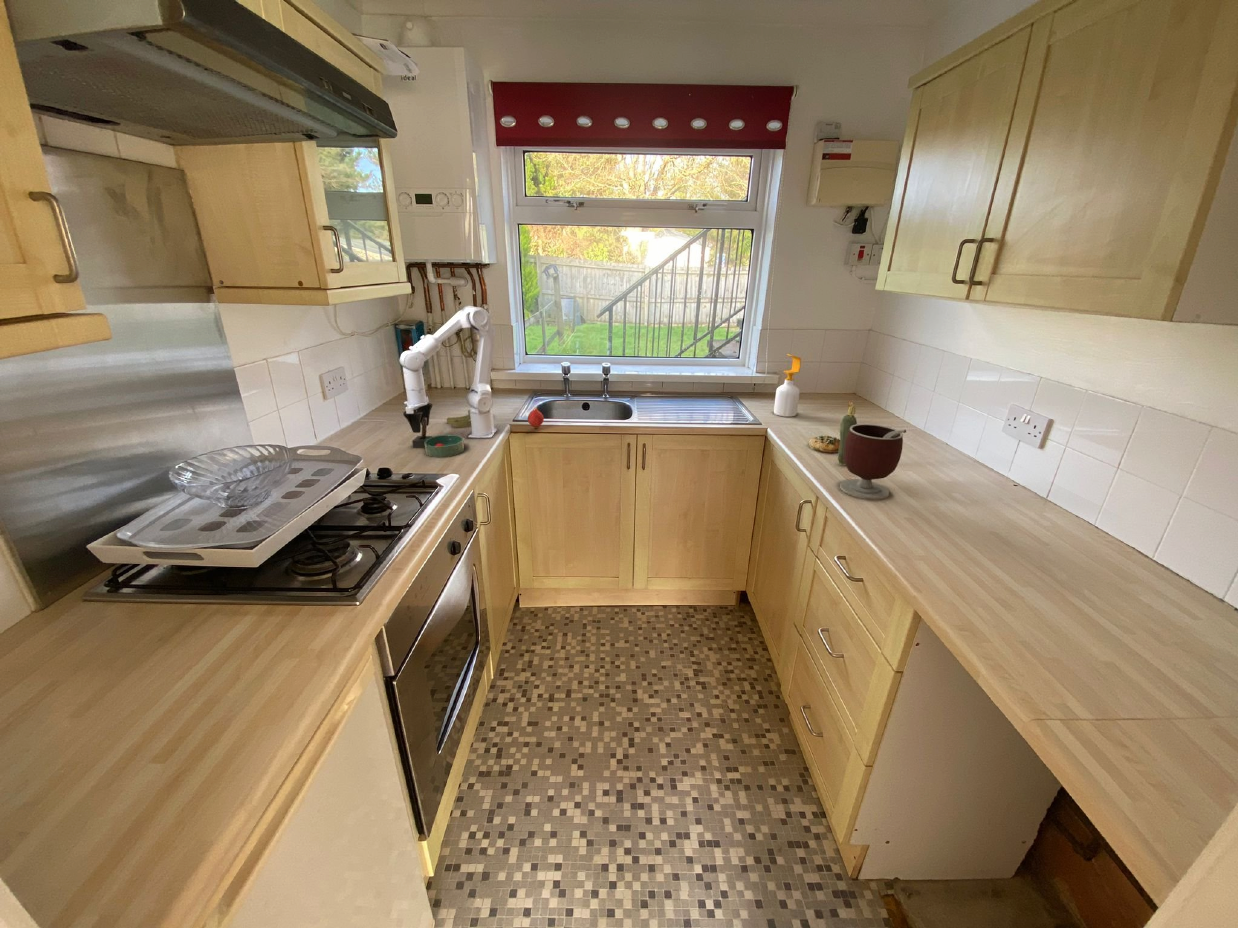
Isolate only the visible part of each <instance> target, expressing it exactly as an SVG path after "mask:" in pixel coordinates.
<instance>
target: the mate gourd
mask: <svg viewBox="0 0 1238 928" xmlns="http://www.w3.org/2000/svg"><path fill="white" fill-rule="evenodd" d="M906 433H907V430H906V429H896V428H892V427H890V426H885V425H882V424H881V425H880V424H874V423H873V424H872V423H857V425H853V426H851V427H850V430H849V432H848V434H847V437H846V440H845V444H844V453H843V457H844V463H845V464H844V465H845V467H846V469H847V471H849V473H850V474H853V475H854V476H857V477H858V478H859V479H858V478H850V479H844V480H842V481H841V482H840V484H839V488H840V490H841V491H842V492H844V493H845V494H847V495H849V496H852V497H855V498H859V499H862V500H863V499H864V500H873V501H874V500H875V501H877V500H878V501H879V500H884V499H886V498H888V497H889V494H890V490H889V489H888V488H887V487H886V486H884V485H882V484H880V483H878V482H874V481H872V480H881V479H885V478H887V477H889V476H890V475H891V474H892V473H894V472H895V470H896V468H897V467H898V465H899V462H900V459H901V457H902V452H903V447H904V446H903V445H904V444H903V443H904V438H903V437H904V434H906Z"/></svg>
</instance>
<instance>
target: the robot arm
mask: <svg viewBox="0 0 1238 928" xmlns="http://www.w3.org/2000/svg"><path fill="white" fill-rule="evenodd" d="M466 328H467V329H468V328H471V329H472V330H473V331H474V332H475V333H476V335H478V343H477V350H476V351H477V352H476V358H475V359H476V360H475V368H474V376H473V382H472V384H471V385H470V388H469V391H468V393H467V394H466V402H467V404H468V405H469V406H470V408H469V410H470V417H471V419H470V420H471V426H470V427H471V433H470V434H469V435H468V438H470V439H471V438H472V439H473V438H477V439H478V438H479V439H481V438H482V439H490V438H492V437H493V436H494V435H495V434H496V432H497V431H498V428H495V421H494V413H493V410H492V408H493V404H494V401H493V398H492V390H491V387H490V381H491V373H492V366H493V359H494V352H495V351H494V350H495V343H496V337H497V335H496V333H497V332H496V330H495V326H494V323H493V322H492V316H491V314H489V312H488V311H487V310H486V309H485V308H483V307H479V306H473V305H466V306H464V307H463V308H462V309H460V310H459V311H457V312H456V313H455V314H454V315H453V316H451V318H450V319H448V321H446V322H445V323H444V324H443V325H442V326H441V327H440V328H439V329H438V330H436V331H435V332H434V333H433V334H426V335H424V334H423V335H422V336H420V340H419V341H417V343H415V344H414V345H413V346H412V345H410V346H409V347H408V349H409V350H405V351H403V352H402V353H401V354H400V357H399V359H398V360H399V364H400V365H401V367H402V369H403V379H404V387H405V392H406V399H407V400H406V401H404V405H406V407H405V411H403V412H402V415H403V417H404V418H405V420H407V422H408V424H409V426H410V429H411V431H412V433H414V434H420V433H421V432H422V420H423V418H424V417H426V418H427V427H428V426H429V425H430V416H431V410H432V408H433V403H432V402H431V403H430V401H429V396H427V395H426V387H425V380H424V374H423V367H424V365H425V362H426V361H427V360H429V359H430V358H431V357H432V356H434V355H435V353H437V352H438V351H439V350H440V349H441V347H442V346H441V345H442V343H443V342H444V341H445V340H447V339H448V338H450V336H452V335H454V334H455V333H456V332H457V331H458V330H460V329H466Z"/></svg>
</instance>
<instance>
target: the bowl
mask: <svg viewBox="0 0 1238 928" xmlns="http://www.w3.org/2000/svg"><path fill="white" fill-rule="evenodd" d="M424 444H425V448H424V451H425V454H426V455H427V456H429V457H433V458H447V457H453V456H456V455H459V454H461V453H463V452H464V451H465V443H464V438H463V436H460V435H457V434H440V435H436V436H435V435H434V436H432V437H431V438H429V439H427V440H426V441H425V442H424ZM437 444H443V445H444V446H436V445H437Z"/></svg>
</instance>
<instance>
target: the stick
mask: <svg viewBox="0 0 1238 928" xmlns="http://www.w3.org/2000/svg"><path fill="white" fill-rule="evenodd" d="M427 427H428V426H427V418H426V417H424V418H423V420H422V425H421V434H420V436H421V439H426V436H427Z"/></svg>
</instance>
